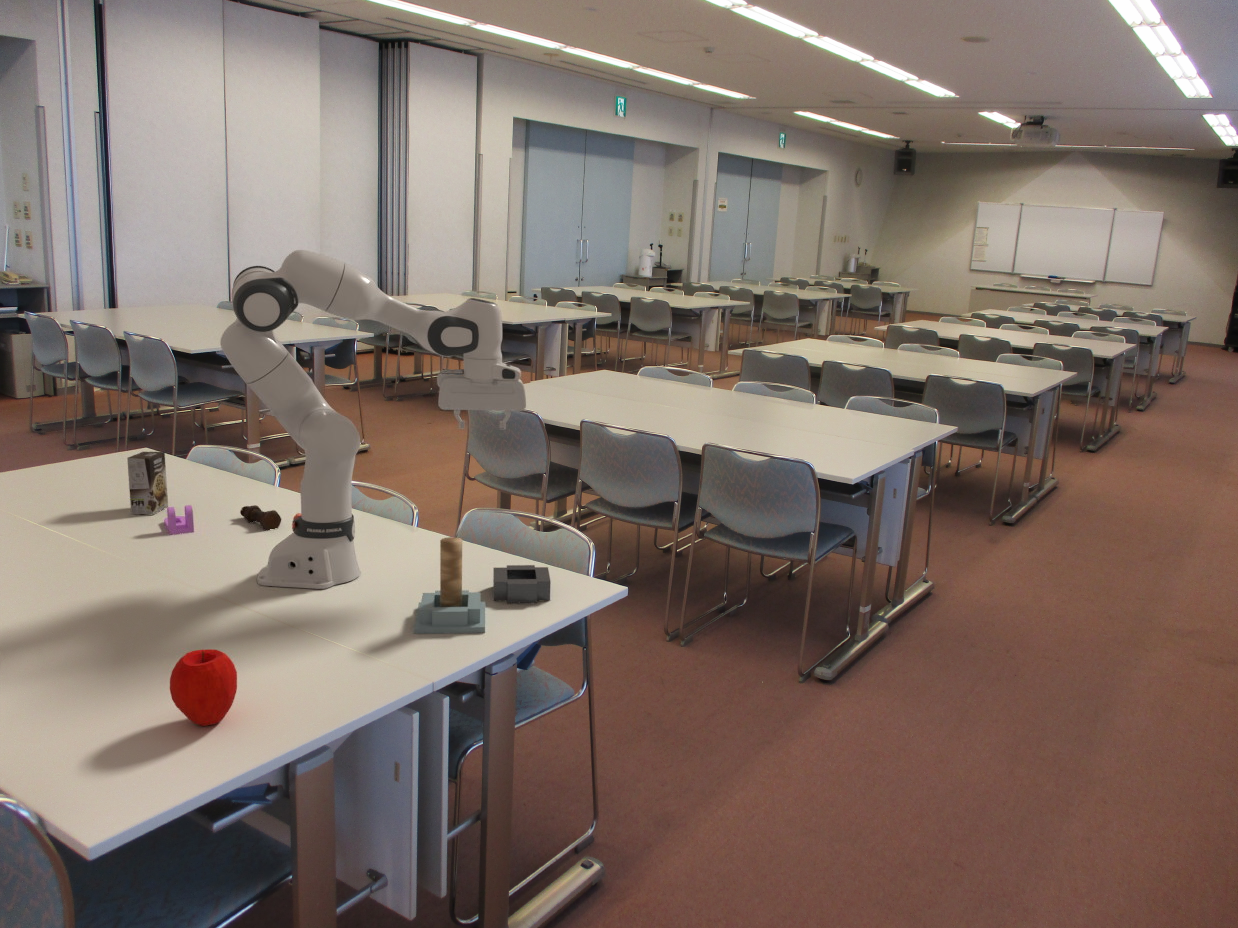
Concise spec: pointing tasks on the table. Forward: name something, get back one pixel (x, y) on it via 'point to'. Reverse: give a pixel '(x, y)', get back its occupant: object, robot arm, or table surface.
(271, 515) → the bolt
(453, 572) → the oak axle
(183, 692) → the apple
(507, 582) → the steel bore block
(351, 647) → the table surface
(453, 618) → the teal cradle
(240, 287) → the robot arm
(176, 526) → the bracket
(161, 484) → the cookie box
